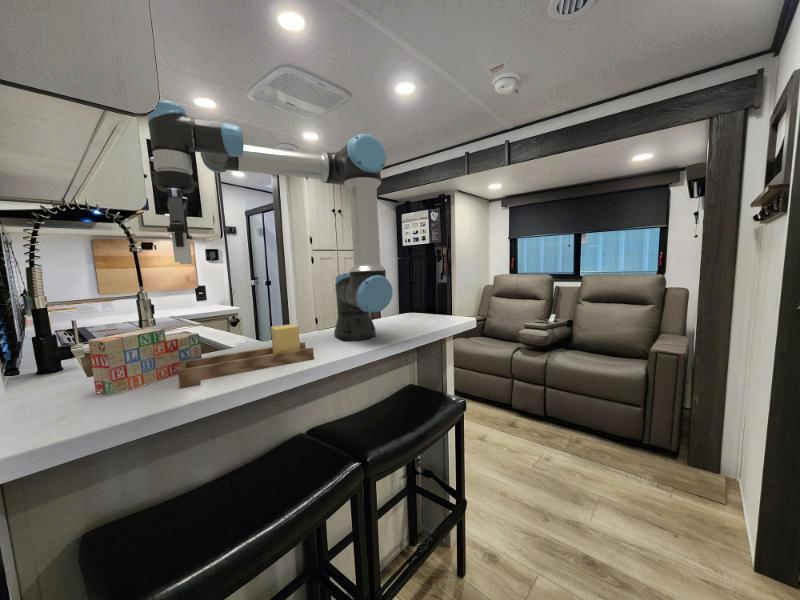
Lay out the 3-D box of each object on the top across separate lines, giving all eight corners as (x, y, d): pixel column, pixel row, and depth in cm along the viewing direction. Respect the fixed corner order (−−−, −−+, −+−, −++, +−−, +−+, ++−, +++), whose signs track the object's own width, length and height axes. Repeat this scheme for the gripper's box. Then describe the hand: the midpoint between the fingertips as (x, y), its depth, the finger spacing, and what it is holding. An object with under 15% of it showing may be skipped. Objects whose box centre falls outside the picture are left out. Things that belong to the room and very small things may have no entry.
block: (295, 355, 91) (293, 323, 90) (301, 359, 86) (298, 326, 85) (273, 359, 88) (270, 326, 87) (277, 364, 83) (274, 329, 82)
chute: (305, 355, 94) (304, 342, 94) (314, 362, 86) (313, 348, 86) (182, 377, 79) (181, 361, 79) (180, 388, 71) (177, 371, 71)
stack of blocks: (187, 365, 91) (182, 322, 90) (203, 366, 89) (198, 322, 88) (94, 393, 71) (86, 339, 70) (113, 396, 69) (105, 340, 68)
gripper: (161, 185, 85) (171, 265, 87) (145, 154, 64) (158, 261, 66) (194, 187, 89) (203, 264, 91) (189, 159, 68) (200, 260, 70)
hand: (184, 263), depth 79 cm, fingers open, 13 cm apart
